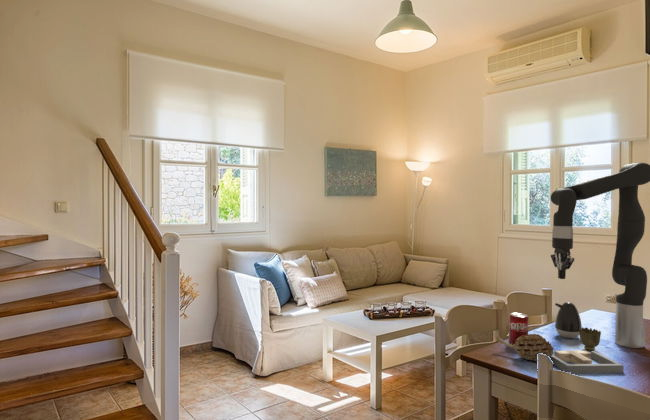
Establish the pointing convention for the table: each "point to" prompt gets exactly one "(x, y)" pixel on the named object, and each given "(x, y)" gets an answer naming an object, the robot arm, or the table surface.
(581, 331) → the cup
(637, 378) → the table surface
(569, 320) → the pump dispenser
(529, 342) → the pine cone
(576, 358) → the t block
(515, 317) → the soda can
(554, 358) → the shallow grey tray
